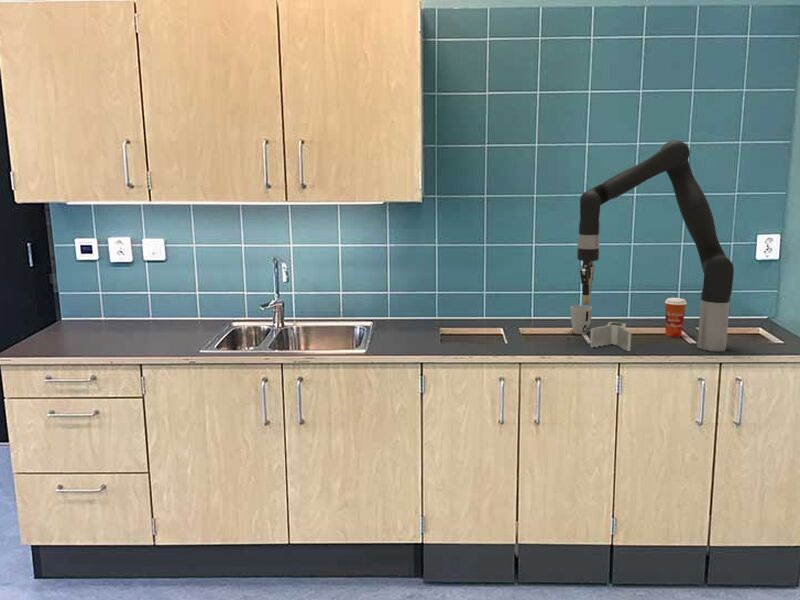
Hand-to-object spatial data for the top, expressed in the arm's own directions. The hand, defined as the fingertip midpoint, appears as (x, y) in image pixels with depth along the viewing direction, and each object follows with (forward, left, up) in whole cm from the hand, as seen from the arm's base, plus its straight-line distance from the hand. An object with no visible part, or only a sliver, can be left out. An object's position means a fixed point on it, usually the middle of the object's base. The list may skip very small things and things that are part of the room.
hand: (586, 294), depth 261 cm
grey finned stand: (-11, +1, -18) cm, 21 cm away
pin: (0, 0, -4) cm, 4 cm away
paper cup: (-29, -24, -18) cm, 41 cm away
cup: (+4, -14, -18) cm, 23 cm away
